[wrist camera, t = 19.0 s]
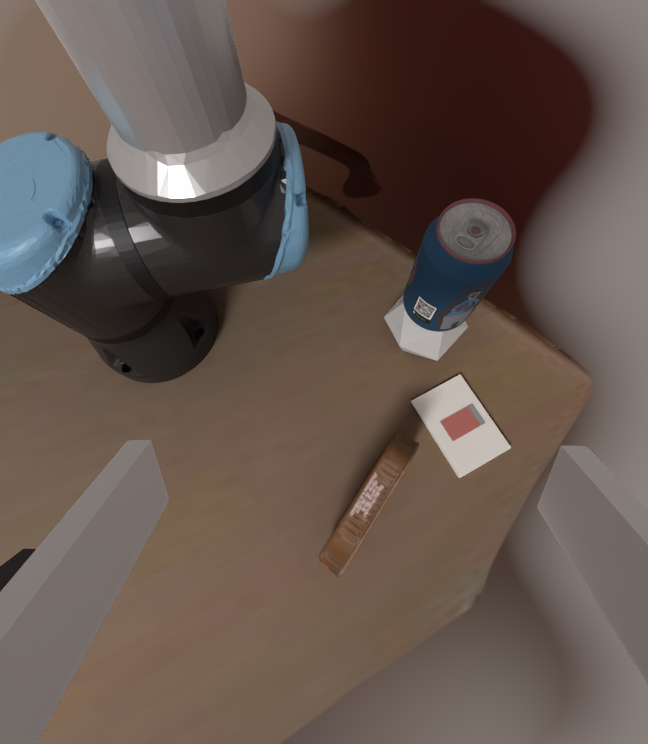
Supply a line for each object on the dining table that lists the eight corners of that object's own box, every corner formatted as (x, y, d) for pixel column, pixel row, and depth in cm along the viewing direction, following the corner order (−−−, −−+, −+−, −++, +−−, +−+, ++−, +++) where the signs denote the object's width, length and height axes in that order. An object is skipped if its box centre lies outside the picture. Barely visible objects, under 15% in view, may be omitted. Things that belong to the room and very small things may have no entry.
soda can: (426, 267, 39) (464, 177, 27) (479, 304, 37) (543, 224, 26) (387, 309, 37) (410, 233, 26) (440, 349, 36) (489, 286, 24)
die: (438, 301, 46) (406, 257, 40) (490, 330, 40) (462, 285, 34) (397, 347, 48) (359, 313, 41) (441, 383, 42) (405, 349, 35)
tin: (340, 568, 37) (340, 592, 29) (315, 549, 37) (310, 567, 29) (412, 449, 40) (431, 441, 32) (389, 433, 41) (402, 421, 33)
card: (410, 401, 42) (411, 400, 41) (459, 375, 43) (460, 373, 42) (458, 478, 39) (460, 478, 38) (509, 448, 40) (511, 447, 39)
